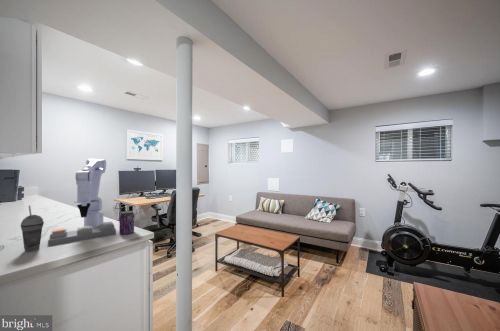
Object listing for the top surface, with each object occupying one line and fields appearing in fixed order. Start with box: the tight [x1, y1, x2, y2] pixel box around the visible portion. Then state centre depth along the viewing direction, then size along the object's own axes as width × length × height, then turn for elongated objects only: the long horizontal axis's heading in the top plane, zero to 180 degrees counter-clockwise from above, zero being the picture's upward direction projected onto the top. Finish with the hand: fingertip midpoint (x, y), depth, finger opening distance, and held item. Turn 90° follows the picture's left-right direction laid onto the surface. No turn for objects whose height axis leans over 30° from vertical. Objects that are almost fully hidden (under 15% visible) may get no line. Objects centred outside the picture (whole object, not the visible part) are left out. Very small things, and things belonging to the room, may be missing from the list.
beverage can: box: [118, 210, 135, 235], centre depth 115 cm, size 7×7×12 cm
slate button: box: [102, 221, 113, 226], centre depth 116 cm, size 4×4×2 cm
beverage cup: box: [20, 205, 45, 253], centre depth 92 cm, size 7×7×20 cm
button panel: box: [47, 222, 117, 247], centre depth 109 cm, size 27×11×4 cm, turn 130°
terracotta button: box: [53, 227, 65, 234], centre depth 103 cm, size 4×4×2 cm
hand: (83, 217), depth 113 cm, fingers closed
